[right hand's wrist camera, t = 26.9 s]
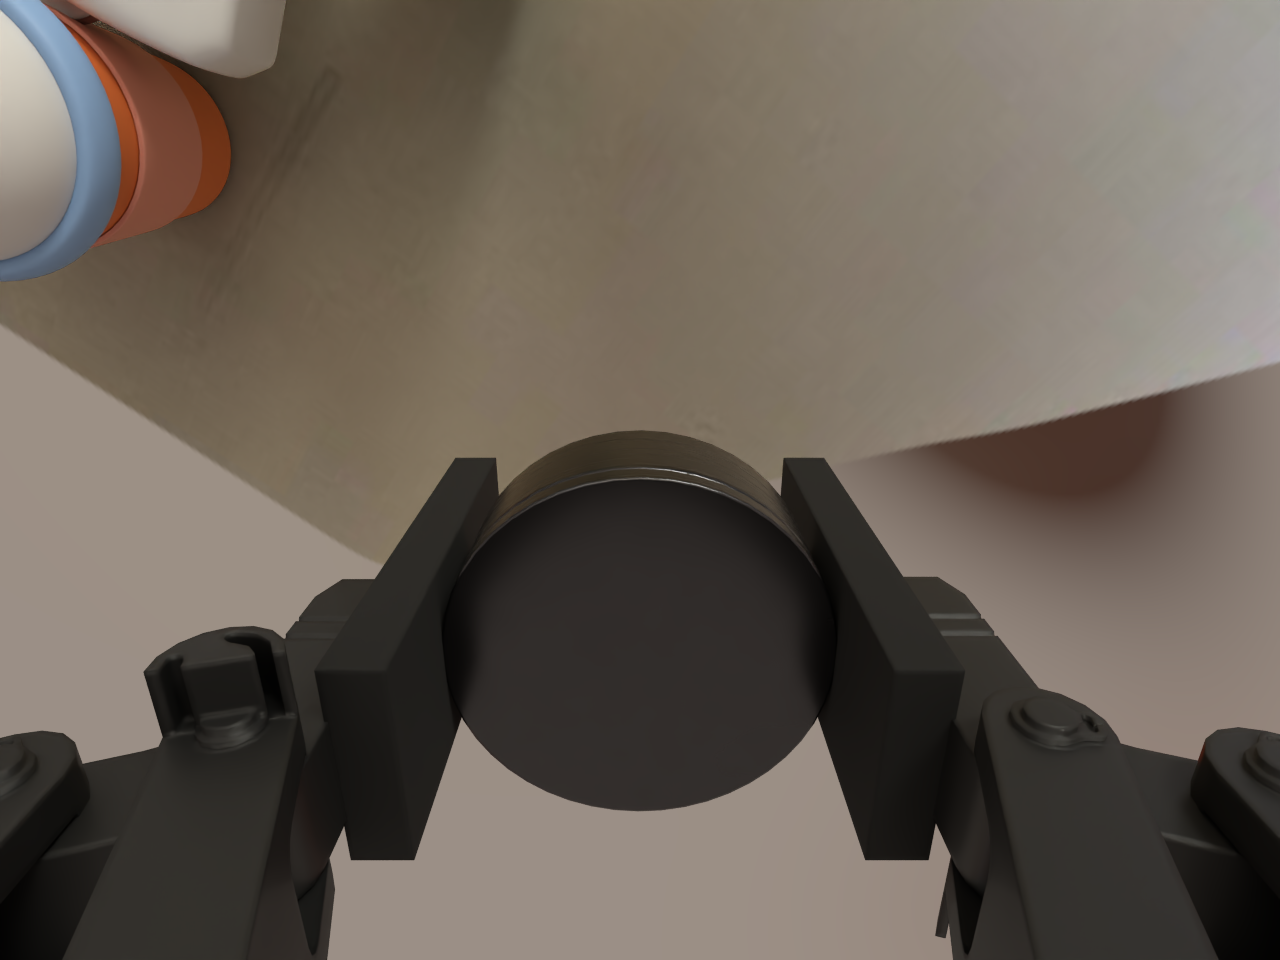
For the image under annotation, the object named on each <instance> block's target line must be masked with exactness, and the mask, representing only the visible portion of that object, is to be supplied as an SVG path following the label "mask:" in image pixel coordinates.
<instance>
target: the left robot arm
mask: <svg viewBox="0 0 1280 960" xmlns="http://www.w3.org/2000/svg"><path fill="white" fill-rule="evenodd" d="M40 1H41V2H42V3H45V4H47V5H49V6H51V7H53V8H55V9H57V10H59V11H60V12H62V13H64V14H66V15H67V16H69V17H70V18H72V19H74V20H76V21H78V22H80V23H81V24H83V25H87V24H92V23H94V22H97V21H99V20H100V21H102V22H104V23H106V24H107V25H109V26H111V27H113V28H115V29H117V30H119V31H120V32H122V33H124V34H126V35H128V36H130V37H132V38H134V39H136V40H138V41H140V42H142V43H144V44H146V45H148V46H150V47H152V48H154V49H156V50H159V51H161V52H163V53H165V54H167V55H169V56H172V57H174V58H176V59H178V60H181V61H183V62H185V63H188V64H190V65H193V66H195V67H198V68H201V69H204V70H207V71H210V72H214V73H217V74H221V75H224V76H229V77H234V78H246V77H249V76H252V75H255V74H257V73H260V72H262V71H264V70H266V69H269V68H271V67H272V66H273V64H274V63H275V59H276V56H277V51H278V45H279V39H280V33H281V28H282V22H283V16H284V10H285V4H286V0H40Z"/></svg>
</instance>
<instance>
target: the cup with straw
mask: <svg viewBox="0 0 1280 960" xmlns="http://www.w3.org/2000/svg"><path fill="white" fill-rule="evenodd" d="M230 163H231V146H230V140H229V135H228V131H227V128H226V125H225V122H224V120H223V117H222V115H221V113H220V111H219V109H218V107H217V106H216V104H215V103H214V101H213V99H212V98H211V97H210V95H209V94H208V93H207V92H206V91H205V89H204V88H203V87H202V86H201V85H200V84H199V83H198V82H197V81H196V80H195V79H194V78H193V77H191V76H190V75H189V74H188V73H186V72H185V71H183V70H182V69H180V68H179V67H177V66H175V65H173V64H171V63H169V62H167V61H165V60H163V59H161V58H158V57H156V56H154V55H151V54H149V53H148V52H146V51H145V50H144V49H142V48H141V47H139V46H138V45H137V44H135V43H133V42H131V41H129V40H128V39H126V38H124V37H122V36H119V35H117V34H115V33H112V32H110V31H108V30H105V29H103V28H101V27H98V26H96V25H94V24H87V25H83V24H81V23H80V22H78V21H76V20H74V19H72V18H70V17H69V16H67V15H66V14H64V13H62V12H60V11H59V10H57V9H55V8H53V7H51V6H49V5H47V4H45V3H42V2H41V1H40V0H0V281H18V280H26V279H31V278H36V277H40V276H43V275H46V274H49V273H52V272H55V271H57V270H59V269H61V268H64V267H65V266H67V265H69V264H70V263H72V262H74V261H75V260H77V259H78V258H79V257H80V256H82V255H83V254H84V253H86V252H87V251H88V249H89V248H93V247H96V246H100V245H103V244H107V243H111V242H114V241H118V240H121V239H125V238H128V237H132V236H136V235H139V234H143V233H146V232H149V231H153V230H156V229H159V228H161V227H163V226H165V225H167V224H169V223H170V222H172V221H173V220H174V219H178V218H181V217H185V216H188V215H191V214H194V213H196V212H198V211H201V210H202V209H204V208H206V207H207V206H208V205H209V204H211V203H212V202H213V201H214V200H215V199H216V197H217V196H218V195H219V194H220V192H221V191H222V189H223V187H224V185H225V183H226V181H227V178H228V175H229V170H230Z"/></svg>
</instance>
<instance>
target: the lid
mask: <svg viewBox="0 0 1280 960" xmlns="http://www.w3.org/2000/svg"><path fill="white" fill-rule="evenodd" d="M442 644H443V654H444V663H445V671H446V679H447V683H448V686H449V689H450V692H451V695H452V698H453V701H454V703H455V705H456V707H457V709H458V711H459V713H460V715H461V716H462V718H463V720H464V722H465V723H466V725H467V726H468V727H469V729H470V730H471V732H472V733H473V734H474V736H475V737H476V739H477V740H478V741H479V742H480V743H481V744H482V745H483V746H484V747H485V749H486V750H487V751H488V752H489V753H490V754H491V755H492V756H493V757H495V758H496V759H497V760H498V761H499V762H500V763H502V764H503V765H504V766H505V767H506V768H508V769H509V770H510V771H512V772H513V773H515V774H517V775H518V776H519V777H521V778H523V779H524V780H525V781H527V782H529V783H531V784H533V785H535V786H537V787H539V788H541V789H543V790H545V791H546V792H549V793H551V794H554V795H557V796H559V797H562V798H564V799H567V800H570V801H574V802H578V803H581V804H585V805H589V806H594V807H600V808H606V809H612V810H625V811H655V810H666V809H673V808H680V807H686V806H690V805H694V804H698V803H702V802H706V801H709V800H712V799H715V798H718V797H720V796H723V795H726V794H728V793H731V792H733V791H735V790H737V789H739V788H741V787H743V786H745V785H747V784H749V783H751V782H752V781H754V780H755V779H757V778H758V777H760V776H762V775H763V774H765V773H766V772H768V771H769V770H770V769H772V768H773V767H774V766H775V765H777V764H778V763H779V762H780V761H782V760H783V759H784V758H785V757H786V756H787V755H788V754H789V753H790V752H791V751H792V750H793V749H794V748H795V747H796V746H797V745H798V744H799V743H800V742H801V741H802V739H803V738H804V736H805V735H806V734H807V732H808V731H809V730H810V728H811V727H812V726H813V724H814V723H815V721H816V719H817V717H818V715H819V713H820V712H821V710H822V708H823V706H824V704H825V702H826V699H827V696H828V693H829V691H830V688H831V685H832V682H833V675H834V667H835V659H836V649H837V626H836V617H835V613H834V609H833V606H832V602H831V598H830V595H829V593H828V590H827V588H826V586H825V584H824V581H823V579H822V577H821V575H820V572H819V570H818V568H817V566H816V564H815V562H814V559H813V557H812V555H811V553H810V551H809V548H808V546H807V544H806V542H805V540H804V538H803V535H802V533H801V531H800V529H799V527H798V525H797V522H796V520H795V518H794V516H793V514H792V513H791V511H790V510H789V508H788V506H787V505H786V503H785V502H784V500H783V499H782V497H781V496H780V495H779V494H778V493H777V492H776V490H775V489H774V488H773V487H772V486H771V485H770V483H769V482H768V481H767V480H766V479H764V478H763V477H762V476H761V475H760V474H759V473H758V472H756V471H755V470H754V469H753V468H752V467H750V466H749V465H747V464H746V463H744V462H743V461H741V460H740V459H738V458H737V457H735V456H734V455H732V454H730V453H728V452H726V451H724V450H722V449H720V448H718V447H716V446H714V445H712V444H709V443H706V442H703V441H700V440H697V439H694V438H691V437H687V436H682V435H677V434H672V433H667V432H656V431H642V430H641V431H622V432H613V433H608V434H602V435H597V436H592V437H589V438H586V439H583V440H579V441H576V442H573V443H570V444H568V445H566V446H564V447H562V448H560V449H557V450H555V451H553V452H551V453H549V454H547V455H546V456H544V457H543V458H541V459H540V460H538V461H536V462H535V463H533V464H532V465H530V466H529V467H528V468H527V469H526V470H524V471H523V472H522V473H521V474H520V475H518V476H517V477H516V478H515V479H514V480H513V481H512V482H511V483H510V484H509V485H508V486H507V487H506V489H505V490H504V491H503V492H502V493H501V494H500V495H499V497H498V498H497V500H496V501H495V503H494V504H493V506H492V507H491V509H490V510H489V512H488V513H487V515H486V517H485V520H484V522H483V524H482V526H481V528H480V530H479V532H478V534H477V537H476V539H475V541H474V543H473V545H472V547H471V550H470V552H469V554H468V556H467V558H466V560H465V563H464V565H463V567H462V569H461V571H460V573H459V576H458V578H457V580H456V582H455V584H454V587H453V589H452V591H451V594H450V597H449V600H448V604H447V607H446V611H445V614H444V622H443V629H442Z"/></svg>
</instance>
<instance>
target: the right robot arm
mask: <svg viewBox="0 0 1280 960" xmlns="http://www.w3.org/2000/svg"><path fill="white" fill-rule="evenodd" d="M498 497H499V492H498V479H497V466H496V458H455V460H454V461H453V463H452V464H451V466H450V467H449V469H448V470H447V472H446V473H445V475H444V476H443V478H442V479H441V481H440V482H439V484H438V485H437V487H436V488H435V490H434V491H433V493H432V494H431V496H430V497H429V499H428V500H427V502H426V503H425V505H424V506H423V508H422V509H421V511H420V512H419V514H418V515H417V517H416V518H415V520H414V521H413V523H412V524H411V526H410V527H409V529H408V530H407V532H406V533H405V535H404V536H403V538H402V539H401V541H400V542H399V544H398V545H397V547H396V548H395V550H394V551H393V553H392V554H391V556H390V557H389V559H388V560H387V562H386V563H385V565H384V566H383V568H382V569H381V571H380V572H379V574H378V575H377V577H376V578H375V579H342V580H341V581H339V582H337V583H336V584H334V585H333V586H331V587H330V588H328V589H327V590H325V591H323V592H322V593H320V594H319V595H317V596H316V597H315V598H314V599H313V600H312V602H311V603H310V604H309V605H308V607H307V608H306V609H305V610H304V612H303V613H302V614H301V616H300V617H299V621H296V622H295V623H294V625H293V626H292V627H291V628H290V630H289V631H288V632H287V633H286V638H285V639H283V638H282V637H281V636H279V635H278V634H277V633H276V632H274V631H273V630H269V629H264V628H260V627H255V626H246V627H229V628H224V629H219V630H215V631H211V632H206V633H202V634H200V635H198V636H195V637H192V638H190V639H187V640H185V641H183V642H180V643H178V644H176V645H175V646H173V647H172V648H170V649H168V650H167V651H165V652H164V653H162V654H160V655H159V656H157V657H156V658H155V659H154V661H153V662H152V663H151V664H150V665H149V666H148V667H147V668H146V670H145V671H144V676H145V679H146V682H147V686H148V689H149V692H150V696H151V699H152V702H153V706H154V709H155V712H156V716H157V719H158V723H159V726H160V729H161V733H162V736H163V738H162V740H161V743H160V745H159V747H157V748H153V749H149V750H146V751H142V752H137V753H132V754H128V755H123V756H118V757H113V758H108V759H104V760H99V761H94V762H89V763H85V764H82V761H81V758H80V755H79V753H78V750H77V747H76V744H75V742H74V741H72V740H71V739H70V738H69V737H67V736H66V735H65V734H63V733H56V732H48V731H37V732H29V733H22V734H15V735H11V736H7V737H3V738H0V960H327V956H328V947H329V938H330V929H331V920H332V911H333V902H334V893H335V886H334V880H333V873H332V868H331V863H330V859H329V858H330V855H331V853H332V851H333V849H334V847H335V845H336V842H337V840H338V838H339V836H340V834H341V831H342V829H343V827H345V832H346V837H347V842H348V847H349V853H350V858H351V860H414V859H415V856H416V853H417V850H418V847H419V844H420V841H421V838H422V835H423V832H424V829H425V826H426V823H427V820H428V817H429V814H430V811H431V808H432V805H433V802H434V799H435V796H436V793H437V790H438V787H439V784H440V781H441V778H442V775H443V772H444V769H445V766H446V763H447V760H448V757H449V754H450V751H451V748H452V745H453V742H454V739H455V736H456V733H457V730H458V727H459V724H460V721H461V718H462V716H461V715H460V713H459V711H458V709H457V707H456V705H455V703H454V701H453V698H452V695H451V692H450V689H449V686H448V683H447V679H446V671H445V663H444V654H443V644H442V629H443V622H444V614H445V611H446V607H447V604H448V600H449V597H450V594H451V591H452V589H453V587H454V584H455V582H456V580H457V578H458V576H459V573H460V571H461V569H462V567H463V565H464V563H465V560H466V558H467V556H468V554H469V552H470V550H471V547H472V545H473V543H474V541H475V539H476V537H477V534H478V532H479V530H480V528H481V526H482V524H483V522H484V520H485V517H486V515H487V513H488V512H489V510H490V509H491V507H492V506H493V504H494V503H495V501H496V500H497V498H498ZM781 497H782V499H783V500H784V502H785V503H786V505H787V506H788V508H789V510H790V511H791V513H792V514H793V516H794V518H795V520H796V522H797V525H798V527H799V529H800V531H801V533H802V535H803V538H804V540H805V542H806V544H807V546H808V548H809V551H810V553H811V555H812V557H813V559H814V562H815V564H816V566H817V568H818V570H819V572H820V575H821V577H822V579H823V581H824V584H825V586H826V588H827V590H828V593H829V595H830V598H831V602H832V606H833V609H834V613H835V617H836V626H837V649H836V659H835V667H834V675H833V682H832V685H831V688H830V691H829V693H828V696H827V699H826V702H825V704H824V706H823V708H822V710H821V712H820V713H819V715H818V719H819V722H820V725H821V728H822V731H823V734H824V737H825V740H826V743H827V746H828V749H829V752H830V755H831V758H832V761H833V764H834V767H835V770H836V773H837V776H838V779H839V782H840V785H841V788H842V791H843V794H844V797H845V800H846V803H847V806H848V809H849V812H850V815H851V818H852V821H853V824H854V827H855V830H856V833H857V836H858V840H859V843H860V846H861V849H862V852H863V855H864V858H865V860H929V855H930V850H931V845H932V840H933V835H934V830H935V824H937V826H938V829H939V831H940V833H941V835H942V837H943V840H944V842H945V844H946V846H947V848H948V850H949V853H950V855H951V858H950V863H949V868H948V873H947V878H946V883H945V887H944V892H943V897H942V901H941V906H940V911H939V916H938V921H937V928H936V934H935V935H936V936H938V937H942V938H946V934H947V929H948V924H949V927H950V936H951V945H952V954H953V960H1280V734H1276V733H1272V732H1268V731H1261V730H1254V729H1247V728H1240V727H1237V728H1229V729H1221V730H1217V731H1215V732H1214V733H1213V734H1211V735H1210V736H1209V737H1207V738H1206V739H1205V742H1204V745H1203V748H1202V751H1201V754H1200V756H1199V759H1198V761H1197V760H1192V759H1187V758H1182V757H1178V756H1173V755H1168V754H1163V753H1159V752H1154V751H1149V750H1144V749H1139V748H1135V747H1132V746H1128V745H1124V744H1121V743H1120V741H1119V739H1118V737H1117V735H1116V734H1115V733H1114V731H1113V730H1112V729H1111V727H1110V726H1109V725H1108V723H1107V722H1106V721H1105V720H1104V719H1103V718H1102V717H1100V716H1099V715H1098V714H1096V713H1095V712H1094V711H1092V710H1091V709H1090V708H1088V707H1087V706H1085V705H1083V704H1081V703H1079V702H1077V701H1075V700H1073V699H1070V698H1068V697H1066V696H1064V695H1062V694H1059V693H1055V692H1051V691H1047V690H1043V689H1039V688H1038V687H1037V685H1036V684H1035V683H1034V682H1033V680H1032V679H1031V678H1030V677H1029V675H1028V674H1027V673H1026V671H1025V670H1024V669H1023V668H1022V666H1021V665H1020V664H1019V663H1018V661H1017V660H1016V659H1015V657H1014V656H1013V655H1012V654H1011V652H1010V651H1009V650H1008V649H1007V647H1006V646H1005V645H1004V644H1003V642H1002V641H1001V640H1000V638H999V637H998V636H994V631H993V630H992V628H991V627H990V626H989V624H988V623H987V622H986V621H985V619H981V614H980V613H979V612H978V610H977V609H976V608H975V607H974V605H973V604H972V603H971V602H970V600H969V599H968V598H967V597H966V595H965V594H963V593H962V592H960V591H959V590H957V589H956V588H954V587H953V586H951V585H949V584H948V583H946V582H945V581H943V580H942V579H940V578H938V577H903V576H902V574H901V573H900V571H899V570H898V568H897V567H896V565H895V564H894V562H893V561H892V559H891V558H890V556H889V555H888V553H887V552H886V550H885V549H884V547H883V546H882V544H881V543H880V541H879V540H878V538H877V537H876V535H875V534H874V532H873V531H872V529H871V528H870V526H869V525H868V523H867V522H866V520H865V519H864V517H863V516H862V514H861V513H860V511H859V510H858V508H857V507H856V505H855V504H854V502H853V501H852V499H851V498H850V496H849V495H848V493H847V492H846V490H845V489H844V487H843V486H842V484H841V483H840V481H839V480H838V478H837V477H836V475H835V474H834V472H833V471H832V469H831V468H830V466H829V465H828V463H827V462H826V460H825V459H824V458H784V460H783V473H782V486H781Z"/></svg>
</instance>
